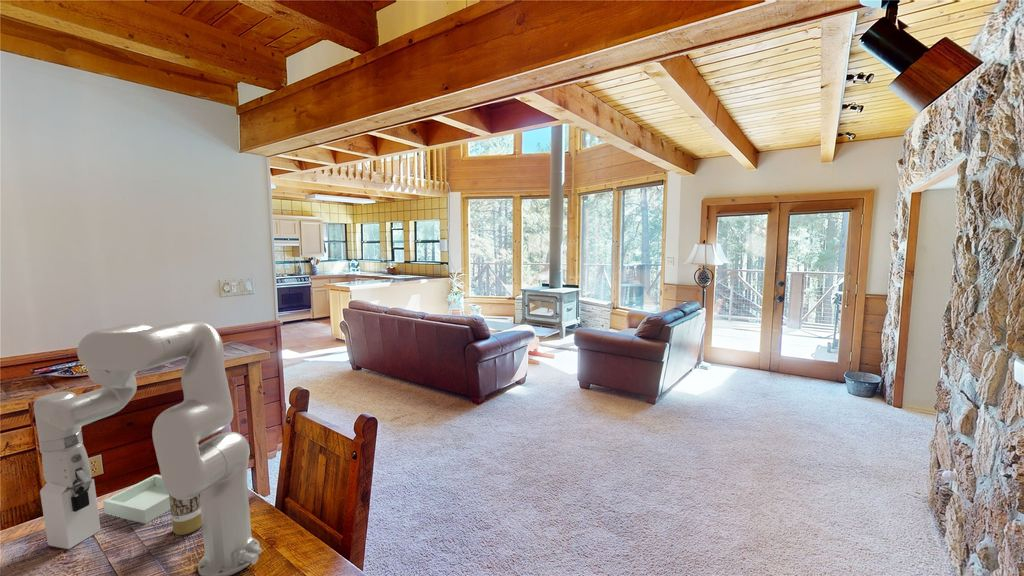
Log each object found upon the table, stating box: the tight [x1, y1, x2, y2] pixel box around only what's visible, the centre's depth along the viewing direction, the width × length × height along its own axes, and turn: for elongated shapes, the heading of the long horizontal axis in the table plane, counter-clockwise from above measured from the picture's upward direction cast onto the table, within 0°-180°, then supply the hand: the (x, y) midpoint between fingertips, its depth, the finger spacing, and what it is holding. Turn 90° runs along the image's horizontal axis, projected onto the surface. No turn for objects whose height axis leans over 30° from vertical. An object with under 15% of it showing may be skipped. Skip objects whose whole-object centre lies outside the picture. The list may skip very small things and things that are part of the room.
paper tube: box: [169, 494, 202, 536], centre depth 114 cm, size 7×7×25 cm
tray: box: [102, 474, 171, 525], centre depth 126 cm, size 16×14×4 cm
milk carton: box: [39, 477, 102, 550], centre depth 110 cm, size 7×7×19 cm
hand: (70, 505), depth 110 cm, fingers closed on milk carton, 7 cm apart
